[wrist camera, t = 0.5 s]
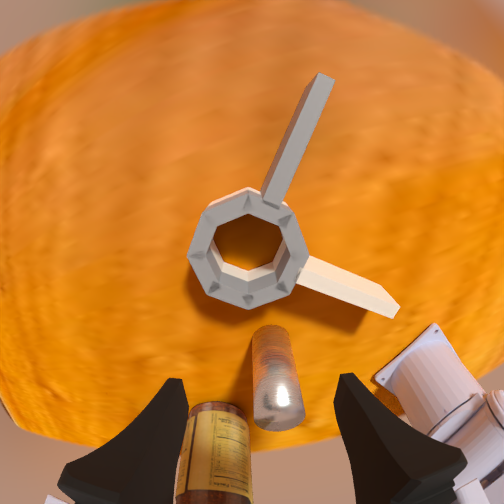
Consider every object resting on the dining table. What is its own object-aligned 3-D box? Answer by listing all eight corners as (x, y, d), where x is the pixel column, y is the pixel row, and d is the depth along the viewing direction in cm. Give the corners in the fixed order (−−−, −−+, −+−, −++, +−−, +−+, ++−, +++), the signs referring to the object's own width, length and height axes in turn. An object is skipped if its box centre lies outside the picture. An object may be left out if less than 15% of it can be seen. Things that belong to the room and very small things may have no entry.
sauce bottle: (214, 437, 26) (202, 592, 8) (176, 408, 25) (141, 583, 6) (263, 420, 25) (273, 596, 6) (227, 388, 24) (216, 599, 5)
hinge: (188, 262, 20) (177, 283, 16) (267, 70, 15) (272, 52, 12) (357, 323, 21) (372, 348, 18) (436, 166, 17) (464, 170, 14)
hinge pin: (296, 338, 22) (315, 414, 14) (270, 359, 22) (278, 436, 15) (270, 318, 21) (280, 395, 14) (244, 341, 22) (243, 419, 14)
